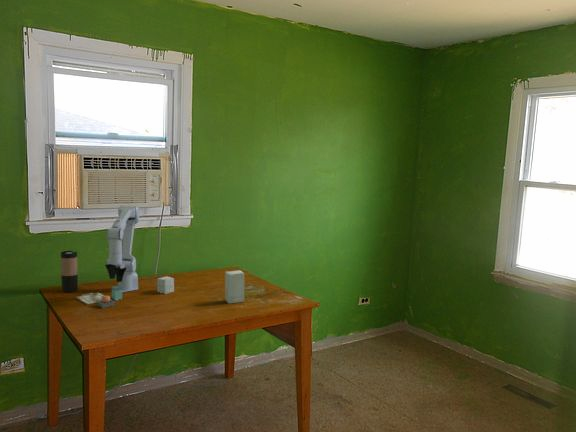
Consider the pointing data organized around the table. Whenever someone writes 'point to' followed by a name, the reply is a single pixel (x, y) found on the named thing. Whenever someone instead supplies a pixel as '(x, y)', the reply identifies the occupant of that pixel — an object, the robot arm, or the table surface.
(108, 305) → the button housing
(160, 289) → the skincare box
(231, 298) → the skincare box
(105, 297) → the button
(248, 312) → the table surface
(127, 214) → the robot arm
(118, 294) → the teal banded box
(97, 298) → the clipboard with paper sheet
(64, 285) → the travel mug
